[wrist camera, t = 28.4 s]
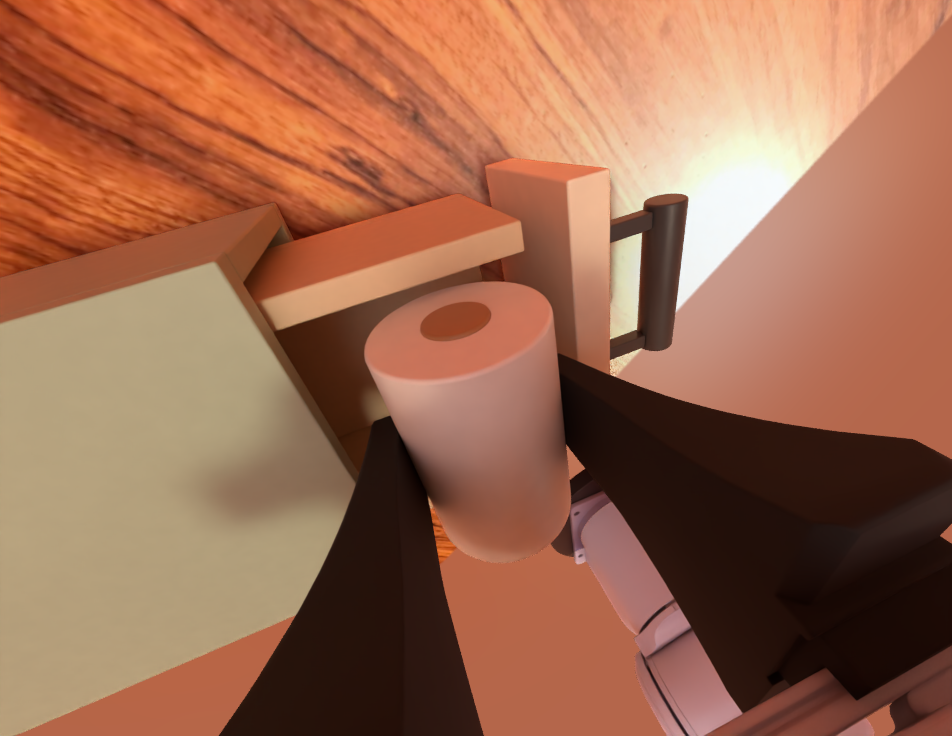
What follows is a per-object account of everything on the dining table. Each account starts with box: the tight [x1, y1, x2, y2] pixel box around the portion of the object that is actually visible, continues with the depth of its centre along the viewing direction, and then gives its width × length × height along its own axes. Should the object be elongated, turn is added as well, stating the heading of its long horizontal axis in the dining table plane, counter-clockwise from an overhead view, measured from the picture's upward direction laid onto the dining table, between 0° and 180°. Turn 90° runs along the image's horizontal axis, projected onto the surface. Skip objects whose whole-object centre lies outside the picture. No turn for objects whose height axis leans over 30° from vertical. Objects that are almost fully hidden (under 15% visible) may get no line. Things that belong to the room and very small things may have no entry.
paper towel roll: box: [364, 281, 571, 563], centre depth 10 cm, size 4×7×4 cm
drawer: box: [243, 158, 688, 509], centre depth 14 cm, size 17×10×6 cm, turn 103°
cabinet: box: [0, 203, 359, 736], centre depth 12 cm, size 13×11×8 cm
